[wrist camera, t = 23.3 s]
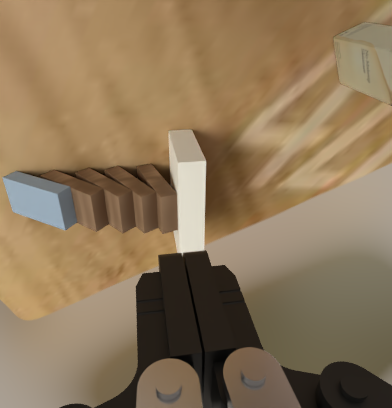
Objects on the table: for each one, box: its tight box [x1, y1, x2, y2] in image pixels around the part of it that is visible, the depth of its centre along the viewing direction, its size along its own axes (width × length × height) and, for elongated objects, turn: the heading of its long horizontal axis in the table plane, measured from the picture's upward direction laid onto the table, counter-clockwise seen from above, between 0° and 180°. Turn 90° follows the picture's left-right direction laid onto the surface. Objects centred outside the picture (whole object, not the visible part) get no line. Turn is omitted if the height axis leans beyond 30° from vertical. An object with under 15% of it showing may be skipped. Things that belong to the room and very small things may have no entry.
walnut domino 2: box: [75, 168, 136, 233], centre depth 44 cm, size 2×5×9 cm
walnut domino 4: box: [137, 164, 178, 234], centre depth 44 cm, size 2×5×9 cm, turn 0°
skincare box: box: [333, 22, 392, 106], centre depth 39 cm, size 6×4×12 cm
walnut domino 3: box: [104, 166, 158, 234], centre depth 44 cm, size 2×5×9 cm, turn 0°
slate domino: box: [2, 171, 77, 230], centre depth 43 cm, size 2×5×9 cm
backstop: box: [169, 129, 206, 256], centre depth 45 cm, size 3×14×10 cm, turn 0°
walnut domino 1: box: [40, 170, 109, 232], centre depth 44 cm, size 2×5×9 cm
